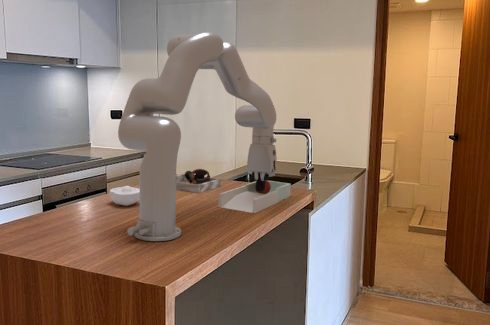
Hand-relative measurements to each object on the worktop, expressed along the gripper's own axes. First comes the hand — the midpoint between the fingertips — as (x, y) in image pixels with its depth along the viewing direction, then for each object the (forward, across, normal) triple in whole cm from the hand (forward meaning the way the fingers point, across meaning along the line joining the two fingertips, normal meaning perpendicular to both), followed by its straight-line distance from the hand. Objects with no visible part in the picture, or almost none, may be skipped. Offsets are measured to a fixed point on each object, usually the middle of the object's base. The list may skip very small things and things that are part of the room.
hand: (260, 190), depth 168 cm
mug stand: (+4, +34, -4) cm, 34 cm away
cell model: (+4, +34, +34) cm, 48 cm away
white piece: (+5, 0, +9) cm, 10 cm away
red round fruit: (-2, +3, -3) cm, 4 cm away
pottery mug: (+4, +32, -7) cm, 33 cm away
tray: (+4, 0, -7) cm, 8 cm away
